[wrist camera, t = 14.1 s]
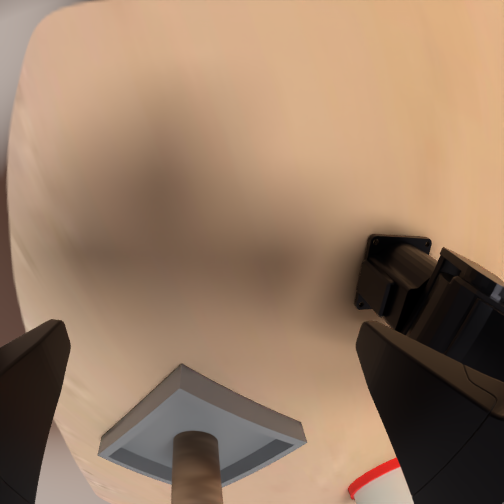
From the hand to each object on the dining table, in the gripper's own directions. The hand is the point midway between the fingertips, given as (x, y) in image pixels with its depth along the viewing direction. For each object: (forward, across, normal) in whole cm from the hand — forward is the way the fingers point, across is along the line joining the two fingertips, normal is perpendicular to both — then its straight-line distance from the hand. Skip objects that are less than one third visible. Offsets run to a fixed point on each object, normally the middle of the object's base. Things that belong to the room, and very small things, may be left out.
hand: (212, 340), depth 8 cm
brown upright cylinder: (+12, +2, +25) cm, 28 cm away
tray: (+13, +2, +25) cm, 28 cm away
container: (+13, -33, +50) cm, 61 cm away
